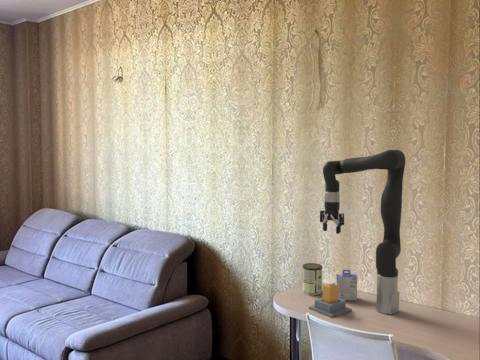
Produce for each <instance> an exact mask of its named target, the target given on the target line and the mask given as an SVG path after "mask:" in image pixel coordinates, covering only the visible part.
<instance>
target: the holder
mask: <svg viewBox="0 0 480 360" xmlns="http://www.w3.org/2000/svg"><path fill="white" fill-rule="evenodd" d="M346 304H347V300H343V299H340V298H338V302H335V303H332V304H328V303H325V302H323V301H322V297H320V298H317V299H314V304H312V305H309V306H308V309H309V310H311V311H314V312H316V313H319V314H321V315H324V316H326V317H329V318H335V317H337V316H340V315H343V314H346V313H349V312H352V308H351V307H349V306H347V305H346Z"/></svg>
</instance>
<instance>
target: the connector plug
mask: <svg viewBox="0 0 480 360" xmlns="http://www.w3.org/2000/svg"><path fill="white" fill-rule="evenodd" d="M321 294H322V295H321V298H322V301H323V302H325V303H328V304H332V303H335V302H338V285H337V283H336V282H335V281H328V282H326V283H325V284H322V293H321Z"/></svg>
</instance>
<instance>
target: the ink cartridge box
mask: <svg viewBox="0 0 480 360" xmlns="http://www.w3.org/2000/svg"><path fill="white" fill-rule="evenodd" d="M336 284H337V285H338V298H340V299H343V300H345V301H357V300H358V276H357V274H356V273H351V270H350V269H342V273H336Z"/></svg>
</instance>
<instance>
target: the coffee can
mask: <svg viewBox="0 0 480 360" xmlns="http://www.w3.org/2000/svg"><path fill="white" fill-rule="evenodd" d="M322 289H323V265H322V264H320V263H314V262H309V263H304V264H302V293H303V294H306V295H310V296H317V295H320V294H322Z"/></svg>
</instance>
